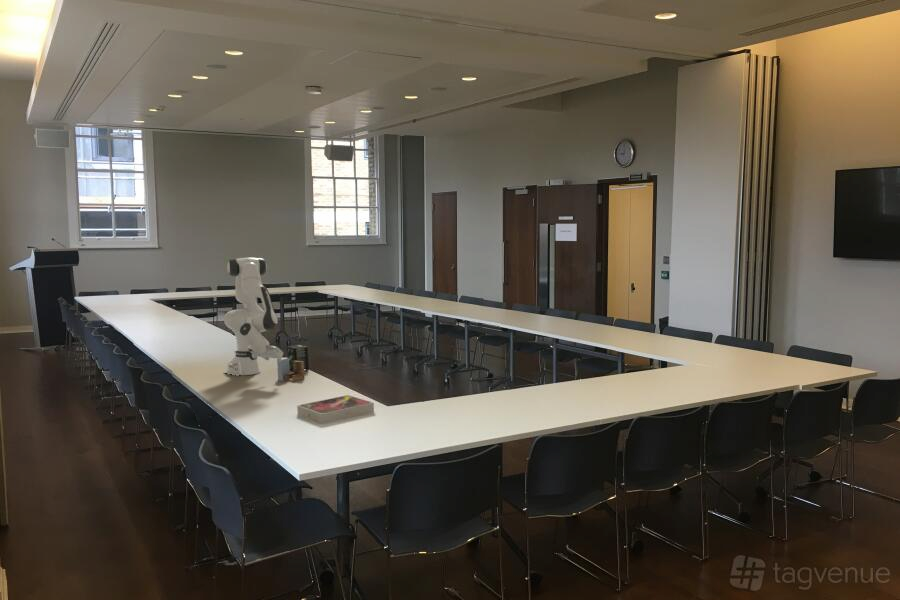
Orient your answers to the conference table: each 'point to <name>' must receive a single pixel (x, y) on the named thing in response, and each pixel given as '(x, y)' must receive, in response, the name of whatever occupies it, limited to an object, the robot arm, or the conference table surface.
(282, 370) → the blue-grey rectangular block
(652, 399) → the conference table surface
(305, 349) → the tampon box
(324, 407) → the product packaging
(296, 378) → the brown wooden holder
